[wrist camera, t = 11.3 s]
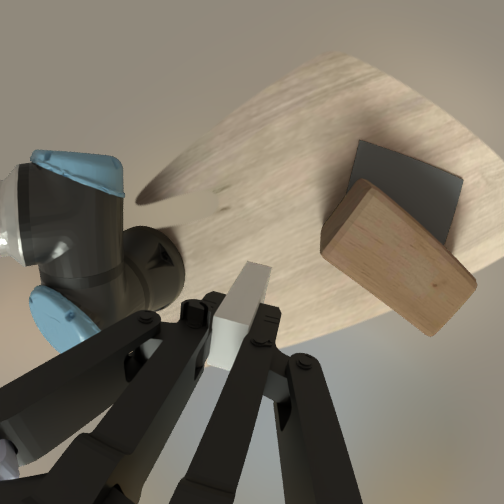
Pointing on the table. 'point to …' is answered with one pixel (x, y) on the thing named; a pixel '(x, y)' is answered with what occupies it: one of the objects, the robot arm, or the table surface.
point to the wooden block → (395, 258)
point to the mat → (410, 186)
